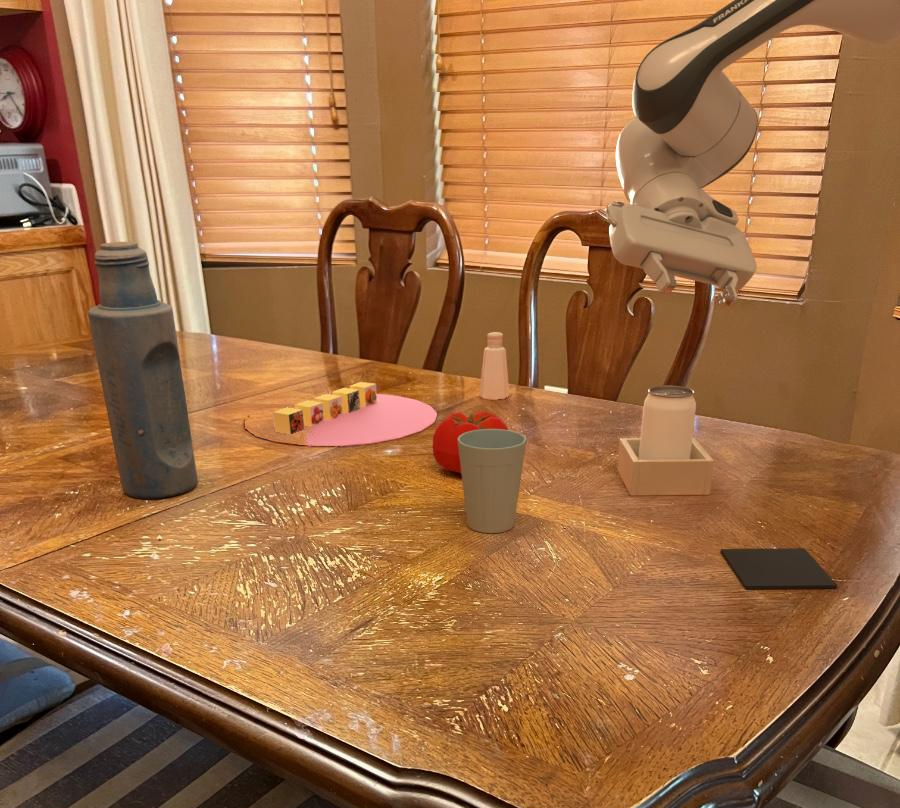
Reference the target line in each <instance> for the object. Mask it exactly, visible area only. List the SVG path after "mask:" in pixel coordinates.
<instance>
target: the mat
mask: <svg viewBox="0 0 900 808" xmlns="http://www.w3.org/2000/svg"><path fill="white" fill-rule="evenodd" d="M720 554H721V555H722V557H723V558H724V560H725V561H726V562H727V564H728V566H729V567H730V569H731V570H732V572H733V573H734V574H735V576H736V577H737V579H738V581H739V582H740V583H741V585H742V586H743V588H744V589H745V590H815V589H816V590H818V589H819V590H826V589H827V590H829V589H831V590H832V589H833V590H834V589H836V590H837V588H838V584H837V583H836V582H835V581H834V580H833V579H832V577H831V576H830V575H829V574H828V573H827V572H826V570H825V569H823V567H822V566H821V565H820V564H819V563H818V561H817V560H815V559H814V557H813V556H812V555H811V554H810V553H809V551H808V550H807V549H806V548H805V547H792V548H791V547H790V548H789V547H787V548H785V547H783V548H782V547H781V548H720Z"/></svg>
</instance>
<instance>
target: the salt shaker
mask: <svg viewBox="0 0 900 808" xmlns="http://www.w3.org/2000/svg"><path fill="white" fill-rule="evenodd" d="M486 337H487V347H485V348H484V349H483V355H482V367H481V374H480V384H479V394H478V395H479V397H480V398H481V399H483V400H487V401H499V400H498V399H502V400H505V398H506V397H507V398H509V397H510V385H509V374H508V363H507V362H508V360H507V350H506V347H504V346H503V341H504V340H503V338H504V334H503V333H502V332H499V331H492V332H489V333H487V334H486ZM508 396H509V397H508ZM507 398H506V399H507Z"/></svg>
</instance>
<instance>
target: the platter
mask: <svg viewBox="0 0 900 808" xmlns="http://www.w3.org/2000/svg"><path fill="white" fill-rule="evenodd" d="M331 394H332V395H331ZM320 395H321V396H318V397H315V398H314V401H309V400H307V401H304V402H301V403H298V404H295V405H294V406H295V409H294V408H288V407H286V408H283V409H280V410H278V411H275V412H273V418H274V427H275V431H276V432H281V433H287V434H293V433H296V432H299V431H302V430H304V425H305V426H309V427H312V428H313V427H315V428H313V429H312V428H310V429H312V430H310V429H309V430H310V431H309V430H307V431H309V432H308V433H307V434H308V435H307V436H306V437H305V439H306V438H308V439H307V440H306V442H308V443H306V444H305V445H307V444H308V446H307V447H311V446H335V447H334V448H338V447H337V446H340V447H352V446H364V445H374V444H379V443H384V442H390V441H395V440H400V439H403V438H406V437H409V436H411V435H415V434H418V433H422V432H423V431H425V430H426V429H428V428H429V427H431V426H432V425H434V424H435V423H436V419H437V417H438V413H437V411H436V410H435V409H434V408H433V407H432V405H429V404H427V403H425V402H422V401H420V400H418V399H414V398H409V397H404V396H400V395H394V394H384V393H377V383H372V382H366V381H359V382H356V383H354V384H350V385H349V387H342V388H339V389H336V390H333V391H331V393H325V394H320ZM309 427H308V428H309ZM308 428H307V429H308ZM314 429H315V430H314ZM313 430H314V431H313ZM307 431H306V432H307ZM311 431H312V432H311ZM310 432H311V433H310ZM314 432H315V433H314ZM309 433H310V434H309ZM313 433H314V434H313ZM312 434H313V435H312ZM305 439H304V440H305ZM304 443H305V442H304ZM311 444H312V445H311ZM310 445H311V446H310Z"/></svg>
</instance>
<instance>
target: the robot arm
mask: <svg viewBox="0 0 900 808" xmlns="http://www.w3.org/2000/svg"><path fill="white" fill-rule="evenodd" d="M800 26H818V27H822V28H825V29H829V30H833V31H835V32H838V33H840V34H842V35H844V36H846V37H847V38H849V39H851V40H853V41H854V40H855V41H857V42H862V43H866V44H876V45H877V44H889V43H893V42H897V41H898V40H900V0H733V1H731V2H729V3H728V4H727V5H725V6H723V7H722V8H720V9H719V10H717V11H716V12H715V13H713V14H712V15H710V16H708V17H707V18H706V19H704V20H703V21H701V22H700V23H698V24H696V25H694V26H692V27H691V28H689V29H686V30H685V31H681V32H679V33H678V34H675V35H674V36H671V37H669V38H667V39H666V40H663V41H662V42H661V43H659V44H657V45H656V46H655V47H654V48H652V49H651V50H650V51H649V52H648V53H647V54H646V55H645V56H644V57H643V59H642V60H641V62H640V64H639V66H638V68H637V70H636V73H635V76H634V80H633V84H632V85H633V86H632V92H631V93H632V95H631V105H632V111H633V114H634V116H635V117H633V118H632V119H630V120H629V121H628V123H627V124H625V126H624V127H623V129H622V130H621V132H620V133H619V136H618V139H617V142H616V149H615V162H616V170H617V173H618V178H619V182H620V185H621V189H622V191H623V194H624V197H625V199H626V200H627V202H628V203H624V202H622V201H614V202H612V203H609V204H607V205H606V207H605V210H604V211H605V212H604V213H605V216H606V218H607V221H608V223H609V224H610V225H609V228H608V229H609V230H608V233H609V242H610V247H611V251H612V255H613V257H614V258H615V260H617V261H618V263H620V264H621V265H624V266H629V267H633V268H637V269H641V270H643V272H644V274H645V275H647V277H649V278H650V279H651V280H652V281H653V282H654V283H655V285H656V288H657V291H658V292H659V293H664V294H671V293H672V292H673V290H675V288H676V287H677V280H676V278H681V279H686V280H689V281H693V282H694V281H695V282H698V283H702V284H708V285H711V286H716V287H718V289H719V290H721V291H720V292H719V293H718V294H717V296H716V298H717V301H718V303H719V305H720V306H723V307H727V308H732V307H733V306H734V305H735V303H736V302H737V301H738V298H739V295H738V293H737V291H740V290H742V289H743V288H744V287H745V286H746V285H747V284H748V283H749V282H750V280H751V279H752V278H753V276H754V275H755V273H756V271H757V268H758V266H757V262H756V259H755V256H754V253H753V250H752V248H751V246H750V244H749V241H748V239H747V237H746V236H745V234H744V233H743V231H742V230H741V229H740V228H739V227H737V225H738V223H739V221H740V219H739V215H738V214H737V212H736V211H735V210H734V209H732V208H731V207H729V206H727V205H725V204H723V203H721V202H719V201H718V200H717V199H715V198H713V197H712V196H710V195H709V194H708V193H707V192H706V191H705V190H704V188H706V187H707V186H709V185H710V184H712V183H714V182H716V181H717V180H718V179H720V178H722V177H724V176H725V175H727V174H728V173H730V172H731V171H732V170H733V169H735V168H736V167H737V166H739V164H740V163H741V162H742V161H743V160H744V159H745V157H746V156H747V154H748V153H749V151H750V150H751V148H752V146H753V144H754V141H755V138H756V137H757V136H756V135H757V131H758V125H759V119H758V114H757V111H756V110H755V108H754V107H753V106H752V104H751V103H750V102H749V101H748V99H747V98H746V97H745V95H743V93H742V92H741V90H740V89H739V88H738V87H737V86H736V85H735V84H734V83H733V82H732V81H731V80H730V79H729V77H728V76H727V75H726V74H725V72H724V70H725V69H726V68H728V67H729V66H731V65H732V64H734V63H736V62H737V61H739V60H740V59H742V58H744V57H745V56H746V55H748V54H749V53H751V52H753V51H754V50H756V49H758V48H759V47H760V46H763V45H764V44H765V43H767V42H768V41H770V40H771V39H773V38H775V37H776V36H778V35H779V34H781V33H782V32H785V31H786V30H789V29H791V28H796V27H800Z"/></svg>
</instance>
